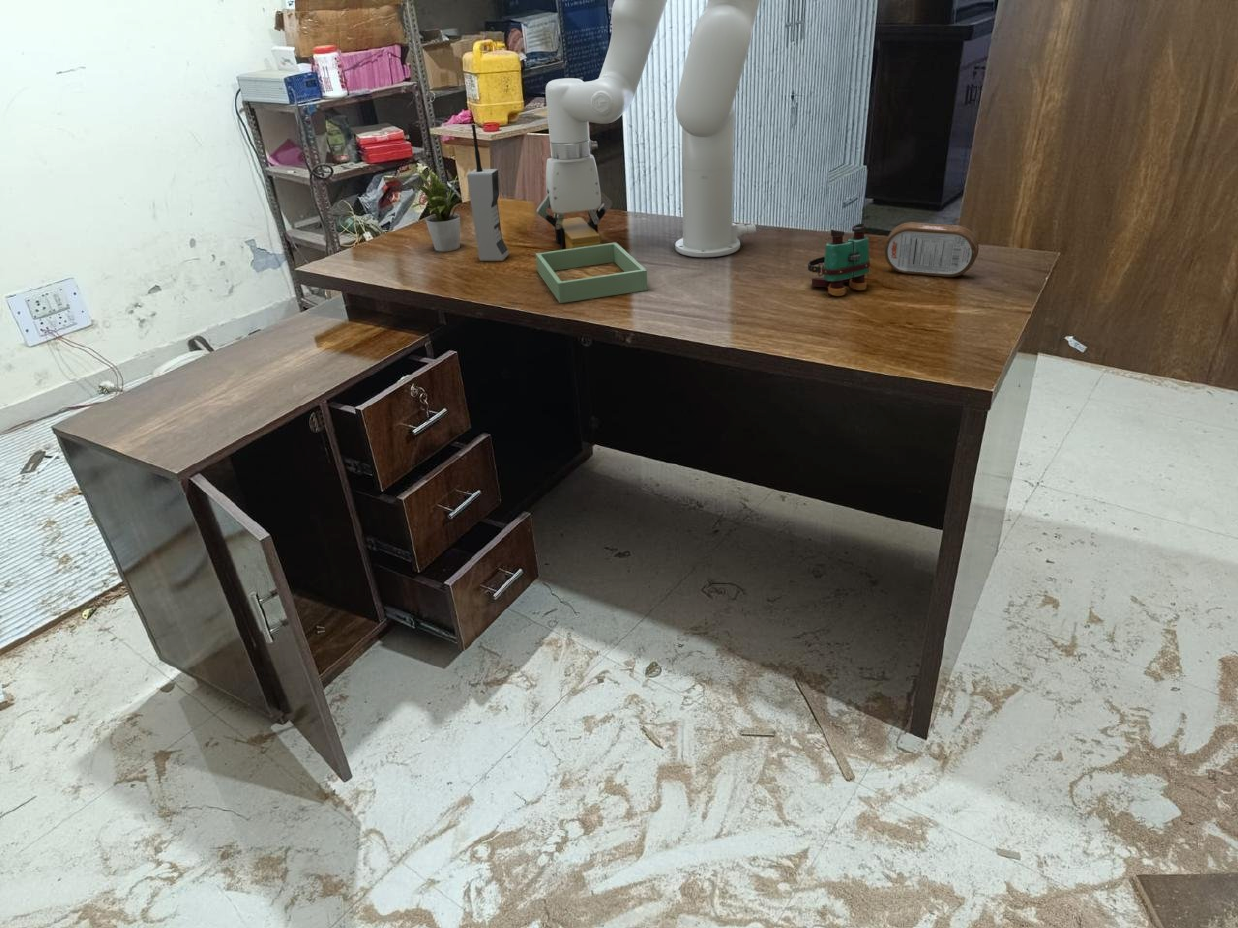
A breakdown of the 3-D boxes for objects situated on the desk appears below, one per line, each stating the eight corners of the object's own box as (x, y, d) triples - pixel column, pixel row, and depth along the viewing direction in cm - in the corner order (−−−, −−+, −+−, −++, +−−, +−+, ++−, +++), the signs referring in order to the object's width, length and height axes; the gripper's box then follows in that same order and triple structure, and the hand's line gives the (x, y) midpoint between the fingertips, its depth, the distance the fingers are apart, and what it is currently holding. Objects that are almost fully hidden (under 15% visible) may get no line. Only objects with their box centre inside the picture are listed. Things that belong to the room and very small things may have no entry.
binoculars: (838, 217, 142) (880, 223, 134) (837, 279, 146) (878, 288, 138) (796, 226, 139) (836, 233, 130) (796, 289, 143) (835, 299, 135)
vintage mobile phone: (503, 261, 163) (485, 125, 151) (479, 261, 164) (459, 126, 152) (509, 255, 167) (492, 122, 154) (485, 255, 168) (466, 122, 155)
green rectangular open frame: (617, 260, 160) (616, 242, 158) (647, 290, 145) (646, 270, 143) (537, 272, 157) (535, 253, 155) (560, 303, 141) (558, 283, 139)
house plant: (393, 251, 174) (377, 169, 166) (445, 234, 183) (433, 156, 174) (437, 261, 166) (422, 176, 157) (489, 244, 175) (478, 162, 166)
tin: (974, 275, 142) (982, 225, 138) (972, 281, 140) (981, 230, 135) (883, 267, 148) (888, 219, 144) (880, 273, 145) (885, 224, 141)
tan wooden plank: (582, 238, 175) (580, 217, 173) (601, 257, 162) (599, 235, 160) (556, 241, 174) (554, 220, 171) (573, 261, 161) (571, 239, 159)
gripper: (608, 142, 163) (613, 235, 173) (522, 152, 160) (531, 246, 169) (619, 149, 157) (623, 244, 166) (529, 159, 153) (539, 256, 163)
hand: (577, 244), depth 168 cm, fingers closed on tan wooden plank, 5 cm apart
